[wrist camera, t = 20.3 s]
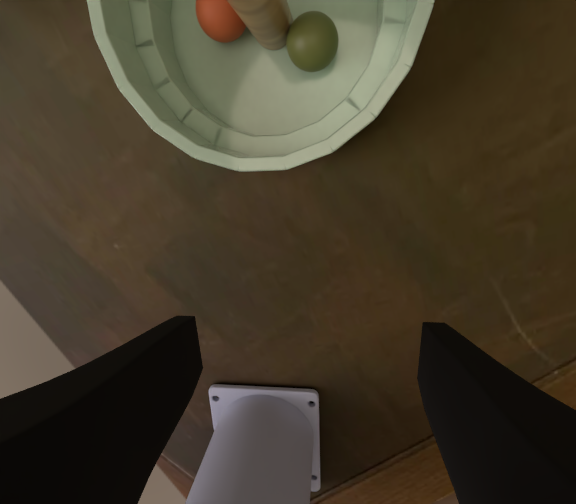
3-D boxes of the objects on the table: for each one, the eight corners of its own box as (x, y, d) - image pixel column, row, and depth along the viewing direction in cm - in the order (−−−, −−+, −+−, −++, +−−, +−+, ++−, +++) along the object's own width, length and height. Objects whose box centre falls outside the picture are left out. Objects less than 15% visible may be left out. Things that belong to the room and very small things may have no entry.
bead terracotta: (243, 55, 17) (202, 33, 17) (262, 4, 16) (219, -20, 16) (225, 46, 15) (178, 21, 15) (246, -15, 14) (196, -42, 14)
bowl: (398, 158, 18) (422, 165, 13) (170, 167, 20) (120, 176, 15) (417, -165, 14) (460, -319, 9) (127, -119, 16) (41, -228, 11)
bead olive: (297, 88, 16) (332, 51, 14) (267, 43, 15) (298, -2, 14) (322, 77, 17) (357, 42, 15) (295, 35, 17) (327, -6, 15)
